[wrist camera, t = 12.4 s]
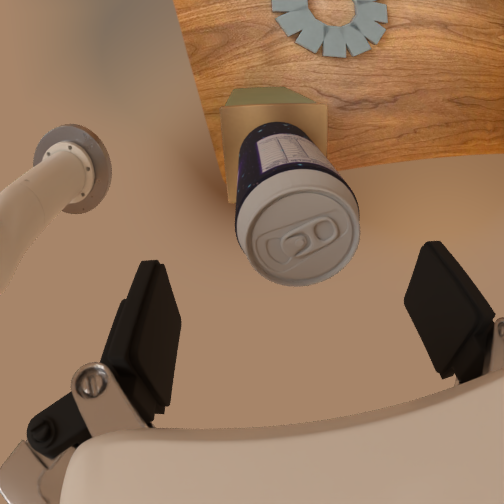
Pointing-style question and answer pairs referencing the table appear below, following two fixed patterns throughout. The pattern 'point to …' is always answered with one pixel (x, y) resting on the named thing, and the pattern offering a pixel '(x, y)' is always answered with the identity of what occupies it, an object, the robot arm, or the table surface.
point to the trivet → (332, 27)
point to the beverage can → (293, 208)
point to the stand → (267, 121)
